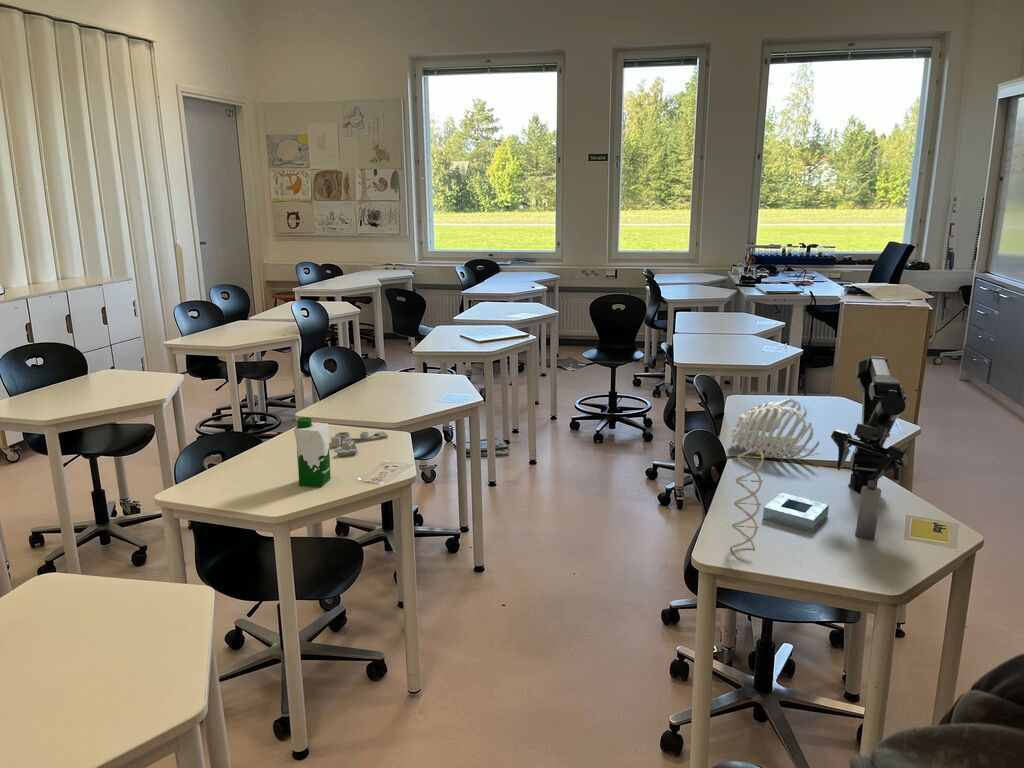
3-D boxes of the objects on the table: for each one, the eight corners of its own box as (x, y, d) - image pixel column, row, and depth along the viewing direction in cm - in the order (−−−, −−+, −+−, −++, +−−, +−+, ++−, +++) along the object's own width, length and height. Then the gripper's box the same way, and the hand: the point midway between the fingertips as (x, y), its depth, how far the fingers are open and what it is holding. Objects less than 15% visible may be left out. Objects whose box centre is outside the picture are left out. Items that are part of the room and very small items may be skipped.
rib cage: (813, 444, 258) (731, 433, 266) (820, 396, 253) (737, 386, 261) (818, 471, 234) (728, 458, 243) (827, 418, 229) (735, 407, 237)
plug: (868, 532, 189) (876, 478, 186) (878, 540, 185) (886, 484, 181) (852, 532, 189) (859, 478, 185) (861, 540, 185) (868, 485, 181)
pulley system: (313, 456, 247) (350, 459, 242) (311, 442, 246) (349, 445, 241) (358, 435, 272) (393, 438, 267) (357, 423, 271) (392, 425, 266)
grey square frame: (779, 504, 207) (781, 492, 206) (827, 516, 199) (828, 504, 198) (762, 519, 197) (763, 507, 196) (812, 532, 189) (813, 520, 188)
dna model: (730, 553, 178) (740, 436, 170) (727, 541, 184) (737, 428, 176) (758, 556, 176) (770, 438, 169) (755, 544, 183) (765, 430, 175)
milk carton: (307, 476, 226) (303, 414, 221) (335, 478, 225) (331, 416, 220) (294, 487, 218) (290, 423, 213) (323, 489, 216) (319, 424, 212)
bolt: (692, 472, 236) (712, 488, 222) (680, 465, 235) (699, 481, 221) (702, 456, 236) (722, 471, 221) (689, 450, 234) (709, 464, 220)
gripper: (838, 401, 195) (813, 452, 193) (911, 422, 182) (884, 477, 180) (848, 418, 203) (824, 467, 201) (919, 439, 190) (894, 492, 188)
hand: (855, 475), depth 192 cm, fingers open, 9 cm apart
